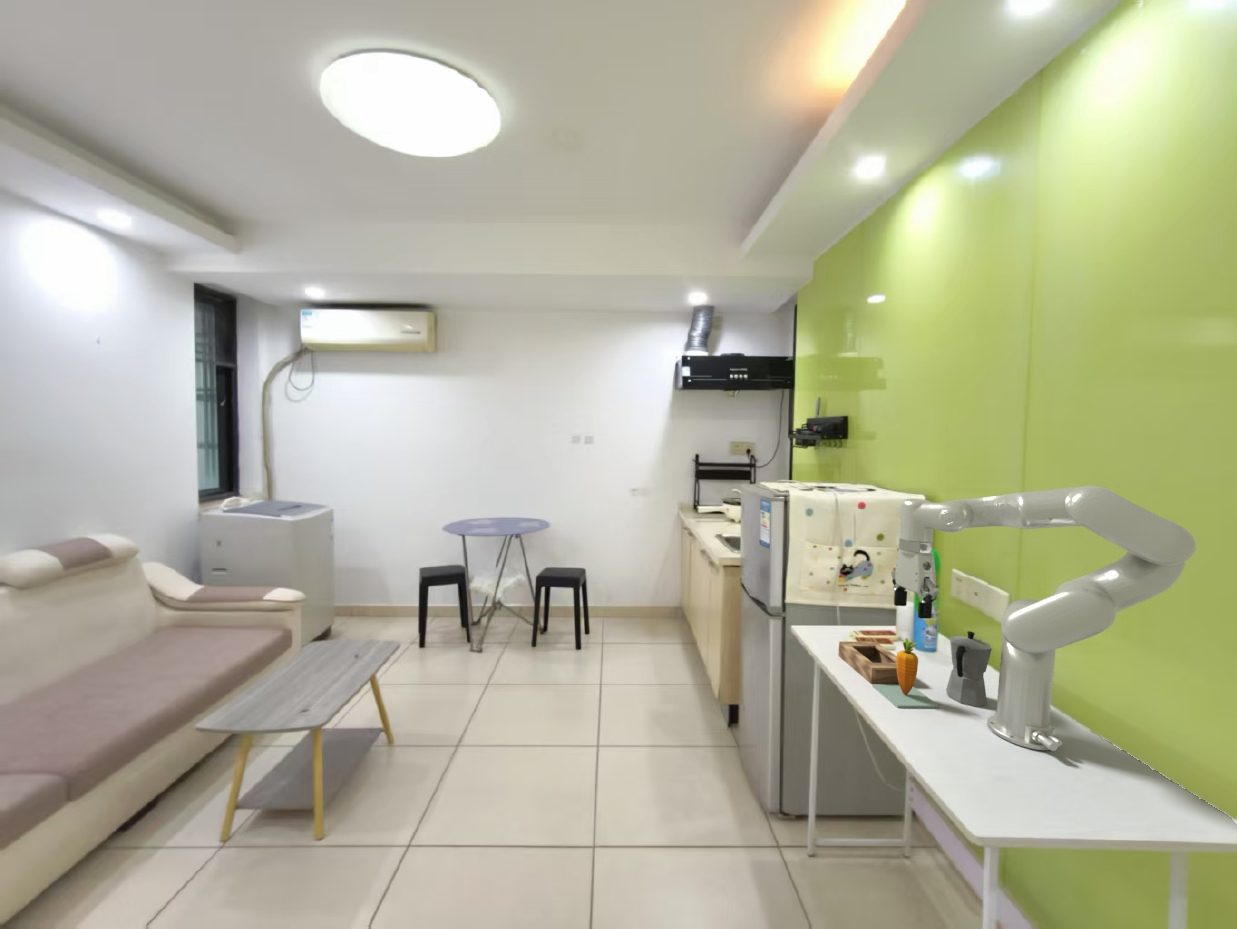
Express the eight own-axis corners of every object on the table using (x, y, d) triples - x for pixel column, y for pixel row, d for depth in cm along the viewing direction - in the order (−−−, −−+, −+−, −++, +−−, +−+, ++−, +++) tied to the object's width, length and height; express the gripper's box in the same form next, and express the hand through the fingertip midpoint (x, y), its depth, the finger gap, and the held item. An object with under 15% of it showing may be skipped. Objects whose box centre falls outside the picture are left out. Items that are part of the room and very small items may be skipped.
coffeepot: (954, 684, 141) (958, 621, 140) (994, 698, 134) (1000, 632, 133) (933, 700, 131) (938, 632, 130) (976, 716, 124) (981, 645, 123)
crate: (912, 684, 140) (913, 668, 140) (871, 683, 139) (872, 667, 139) (875, 656, 158) (876, 642, 157) (838, 655, 157) (839, 641, 157)
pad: (938, 708, 127) (938, 705, 127) (897, 707, 126) (897, 705, 126) (910, 686, 138) (910, 684, 138) (872, 686, 137) (872, 684, 137)
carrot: (896, 688, 136) (899, 633, 135) (917, 694, 132) (921, 638, 132) (892, 695, 132) (895, 638, 131) (914, 701, 129) (917, 644, 128)
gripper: (953, 554, 122) (949, 623, 123) (907, 540, 139) (904, 601, 140) (924, 553, 121) (920, 623, 122) (881, 540, 139) (878, 601, 139)
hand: (911, 611), depth 131 cm, fingers open, 9 cm apart
